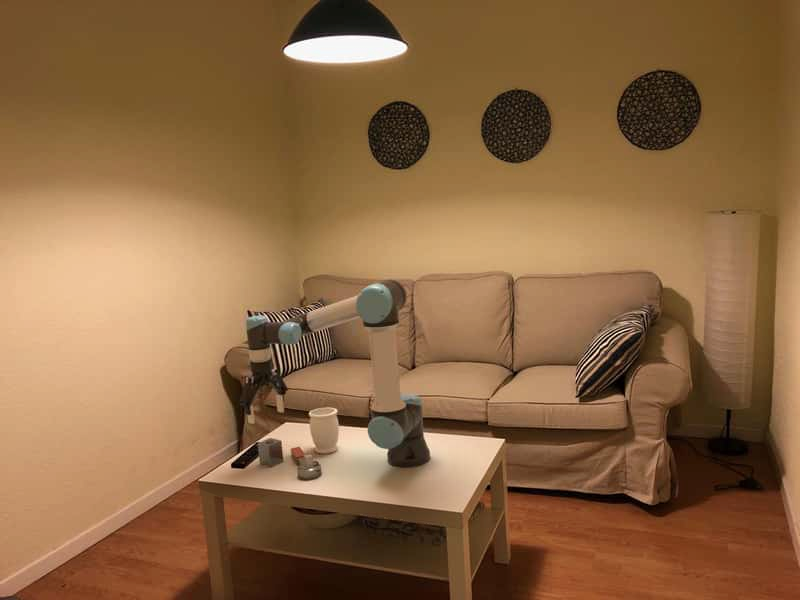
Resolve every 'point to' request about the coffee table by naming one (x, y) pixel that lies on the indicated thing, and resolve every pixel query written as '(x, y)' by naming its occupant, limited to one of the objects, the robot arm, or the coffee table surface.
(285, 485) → the coffee table surface
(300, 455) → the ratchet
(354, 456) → the coffee table surface
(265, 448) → the grey block
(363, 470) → the coffee table surface
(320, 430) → the jar
